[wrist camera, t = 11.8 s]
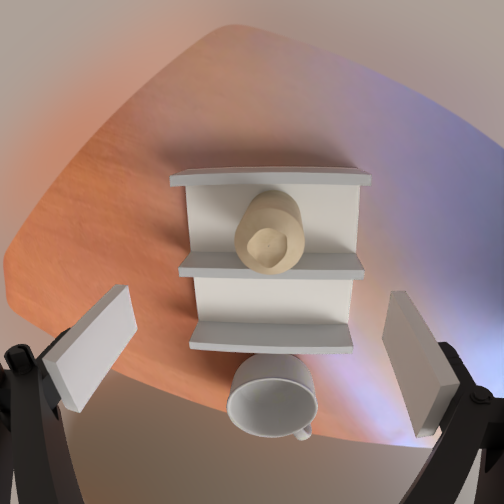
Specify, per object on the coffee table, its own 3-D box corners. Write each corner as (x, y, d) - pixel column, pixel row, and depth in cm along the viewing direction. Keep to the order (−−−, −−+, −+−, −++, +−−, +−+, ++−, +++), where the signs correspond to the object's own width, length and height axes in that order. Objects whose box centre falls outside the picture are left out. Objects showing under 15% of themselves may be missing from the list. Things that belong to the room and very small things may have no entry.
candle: (298, 242, 34) (302, 285, 24) (246, 239, 34) (230, 280, 25) (302, 191, 32) (309, 215, 22) (247, 187, 32) (231, 209, 23)
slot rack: (358, 168, 31) (371, 174, 26) (345, 325, 38) (352, 353, 33) (187, 168, 33) (169, 175, 28) (201, 322, 40) (190, 348, 35)
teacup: (221, 352, 41) (209, 394, 34) (297, 328, 39) (298, 370, 31) (264, 415, 45) (260, 455, 38) (331, 397, 43) (336, 439, 35)
